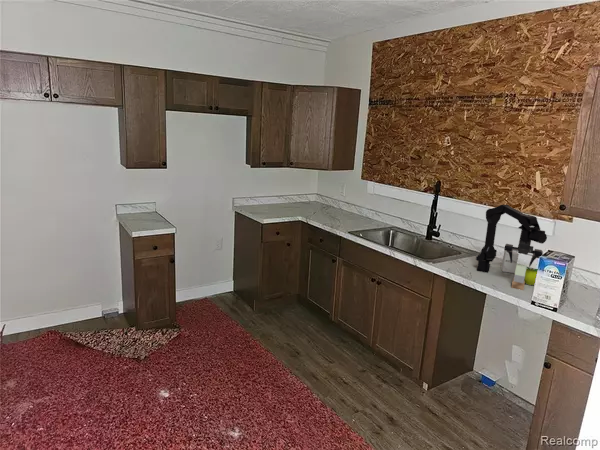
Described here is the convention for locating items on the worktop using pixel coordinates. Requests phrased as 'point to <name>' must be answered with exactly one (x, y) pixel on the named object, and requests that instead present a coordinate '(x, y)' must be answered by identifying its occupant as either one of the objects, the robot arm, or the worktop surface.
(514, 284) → the tower base
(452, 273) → the worktop surface
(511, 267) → the supplement box
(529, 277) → the fruit
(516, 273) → the sage cube
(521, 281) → the tower mid
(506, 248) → the robot arm
